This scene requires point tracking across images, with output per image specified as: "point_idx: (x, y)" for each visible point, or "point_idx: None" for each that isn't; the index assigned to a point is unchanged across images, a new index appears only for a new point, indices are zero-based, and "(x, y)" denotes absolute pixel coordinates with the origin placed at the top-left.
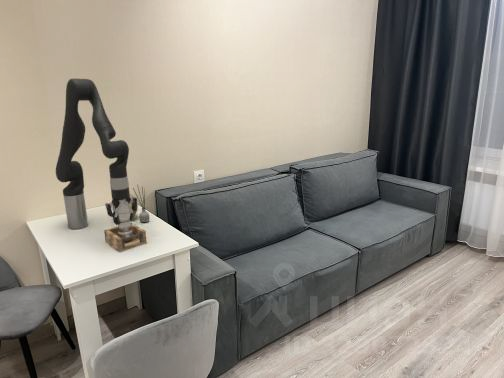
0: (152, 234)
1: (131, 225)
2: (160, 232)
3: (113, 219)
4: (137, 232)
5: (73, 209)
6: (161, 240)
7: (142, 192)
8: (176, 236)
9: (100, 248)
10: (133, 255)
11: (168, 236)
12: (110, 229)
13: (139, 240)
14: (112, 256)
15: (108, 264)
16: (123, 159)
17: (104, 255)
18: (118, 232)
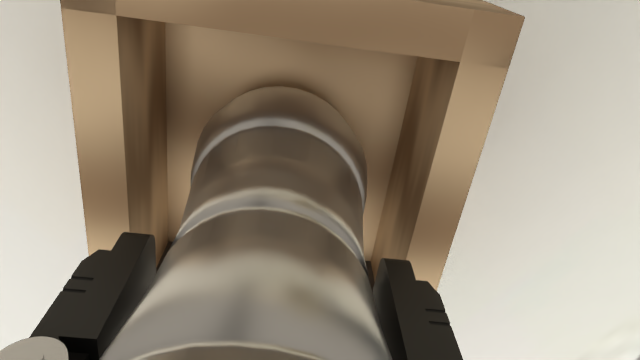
0: (561, 168)
1: (443, 124)
2: (634, 188)
3: (54, 312)
4: (397, 232)
5: None
6: (492, 310)
7: None
8: (608, 334)
9: (29, 49)
10: None
11: (583, 295)
12: (149, 10)
13: (366, 233)
14: (68, 265)
15: (2, 336)
16: None
17: (18, 207)
18: (191, 185)
